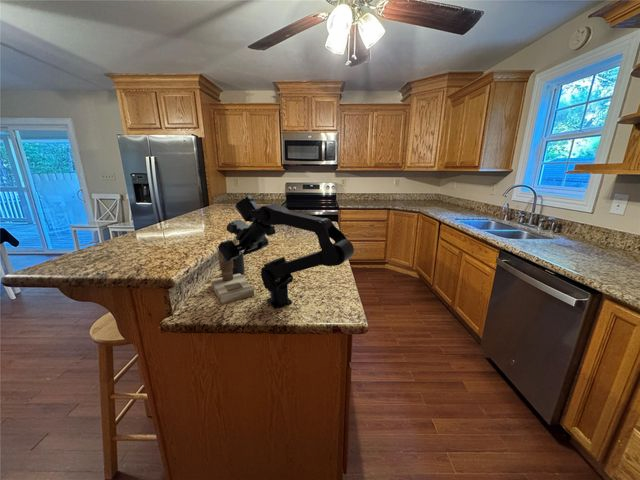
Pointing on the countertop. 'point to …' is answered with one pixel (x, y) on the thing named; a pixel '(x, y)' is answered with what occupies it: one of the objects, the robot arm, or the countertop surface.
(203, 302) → the countertop surface
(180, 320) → the countertop surface
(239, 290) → the board
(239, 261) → the supplement bottle
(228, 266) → the walnut peg
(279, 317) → the countertop surface
